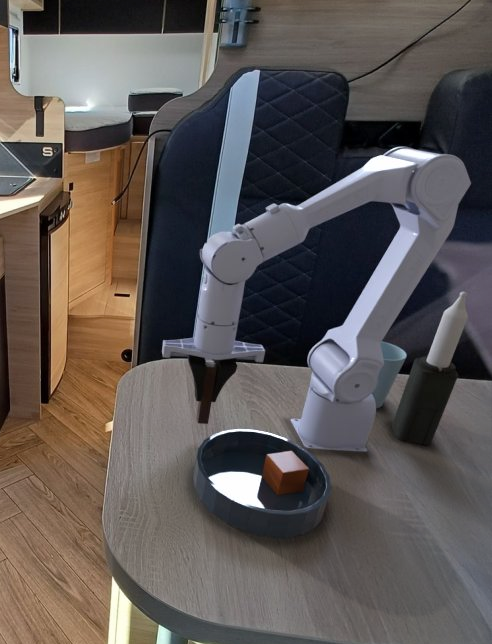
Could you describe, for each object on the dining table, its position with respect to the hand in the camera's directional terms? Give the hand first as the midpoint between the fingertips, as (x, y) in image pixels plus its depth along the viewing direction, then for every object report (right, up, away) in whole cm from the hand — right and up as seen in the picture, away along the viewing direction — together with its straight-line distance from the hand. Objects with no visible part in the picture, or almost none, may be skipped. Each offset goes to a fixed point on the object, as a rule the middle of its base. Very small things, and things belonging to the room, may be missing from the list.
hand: (205, 398), depth 80 cm
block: (+9, -11, -7) cm, 16 cm away
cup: (+33, -2, +14) cm, 36 cm away
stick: (0, -4, +1) cm, 4 cm away
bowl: (+5, -12, -8) cm, 15 cm away
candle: (+35, -7, +5) cm, 36 cm away
